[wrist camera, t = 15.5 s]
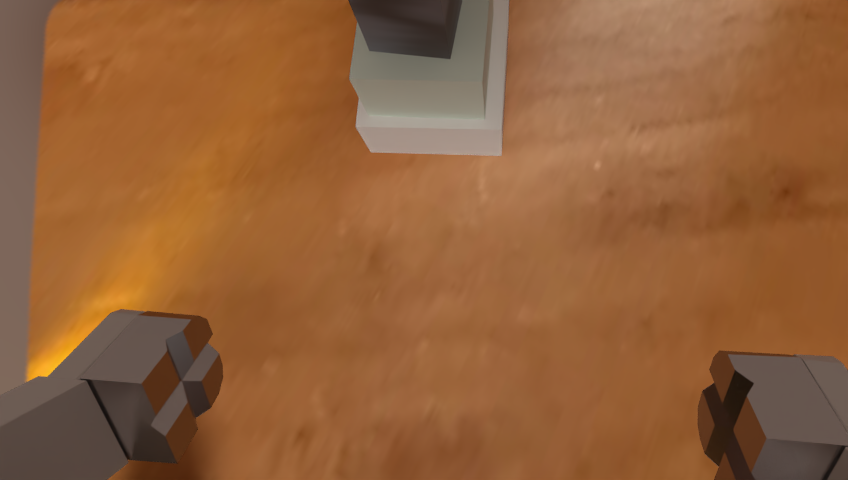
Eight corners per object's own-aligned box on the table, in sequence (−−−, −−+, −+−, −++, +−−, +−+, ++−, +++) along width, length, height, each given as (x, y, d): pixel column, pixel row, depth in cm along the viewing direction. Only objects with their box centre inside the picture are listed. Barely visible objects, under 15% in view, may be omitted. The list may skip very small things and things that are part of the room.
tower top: (493, 13, 38) (492, -38, 33) (484, 119, 36) (482, 81, 32) (382, 13, 39) (365, -37, 34) (368, 115, 38) (349, 78, 33)
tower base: (508, 38, 43) (509, -3, 38) (501, 157, 41) (501, 129, 36) (384, 39, 44) (370, -1, 40) (371, 154, 42) (355, 126, 38)
